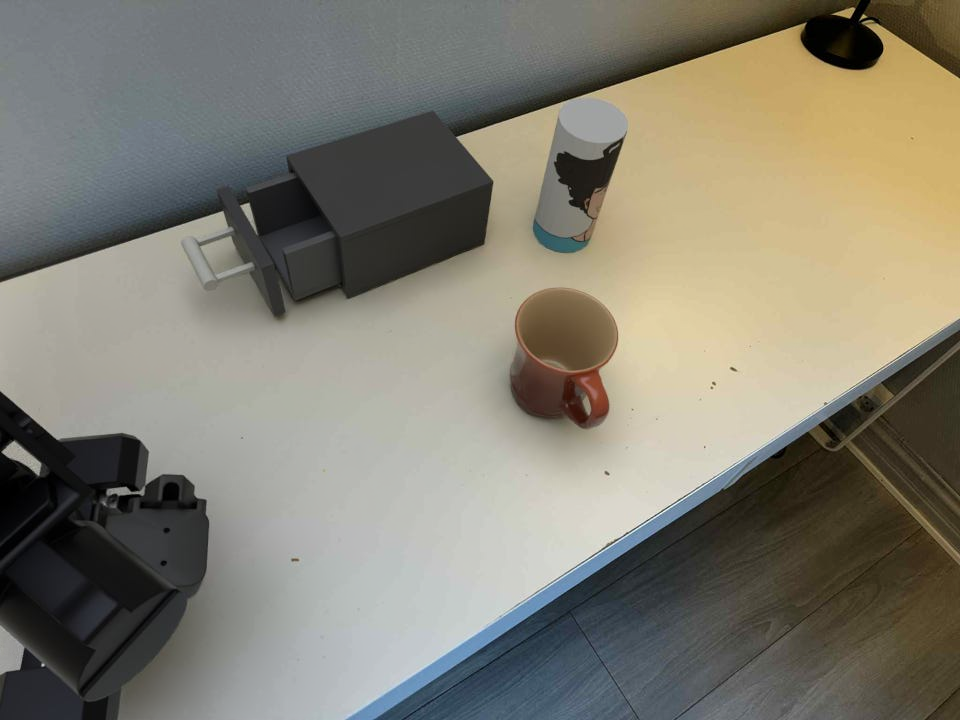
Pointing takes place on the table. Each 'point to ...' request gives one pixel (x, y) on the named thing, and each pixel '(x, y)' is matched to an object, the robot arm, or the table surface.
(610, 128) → the cup
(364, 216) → the cabinet
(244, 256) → the drawer
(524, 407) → the mug
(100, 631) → the robot arm
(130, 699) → the table surface
